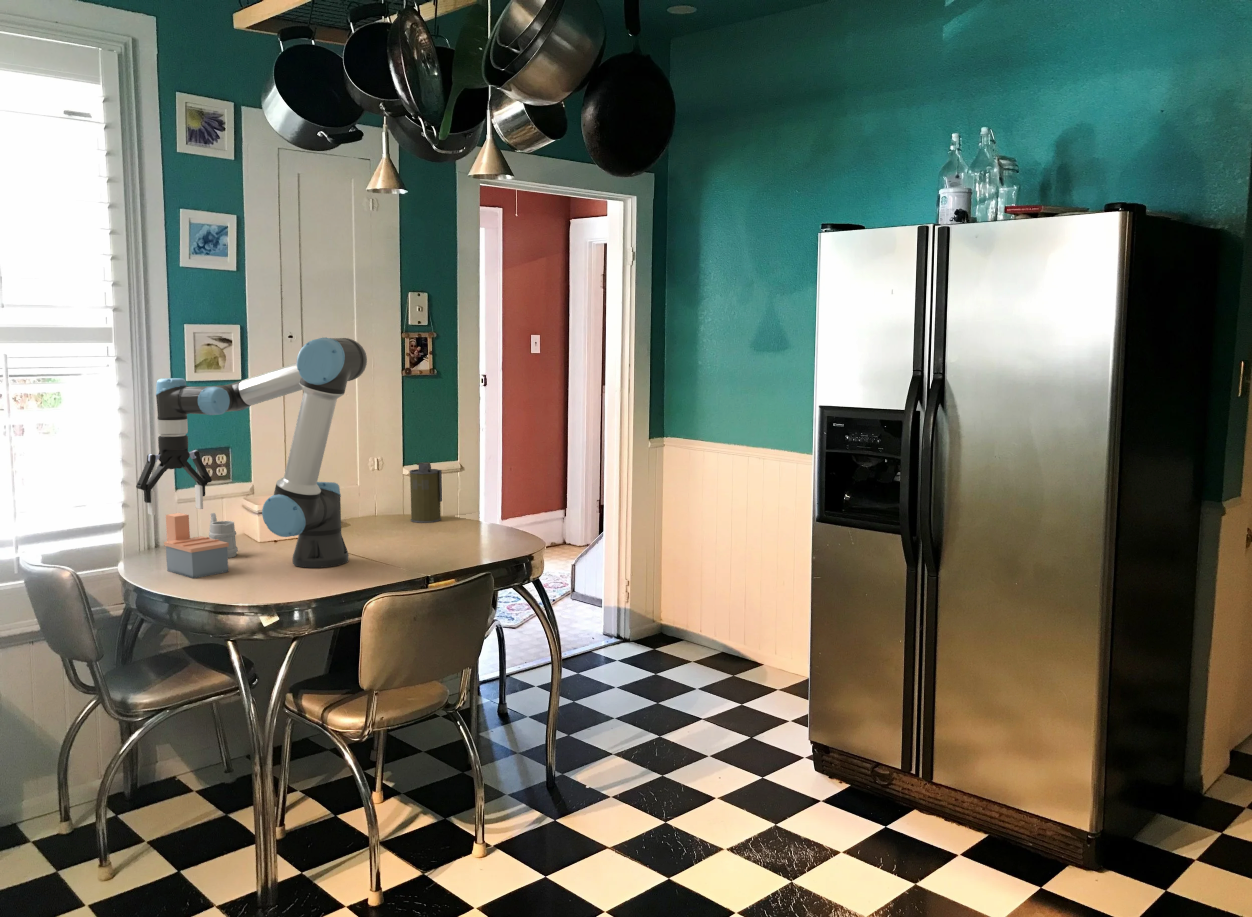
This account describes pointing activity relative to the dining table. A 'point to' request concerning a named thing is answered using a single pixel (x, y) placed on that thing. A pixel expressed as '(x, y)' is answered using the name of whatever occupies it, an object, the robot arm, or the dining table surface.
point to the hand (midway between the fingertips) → (175, 511)
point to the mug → (224, 534)
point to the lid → (187, 536)
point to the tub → (197, 562)
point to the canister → (425, 493)
